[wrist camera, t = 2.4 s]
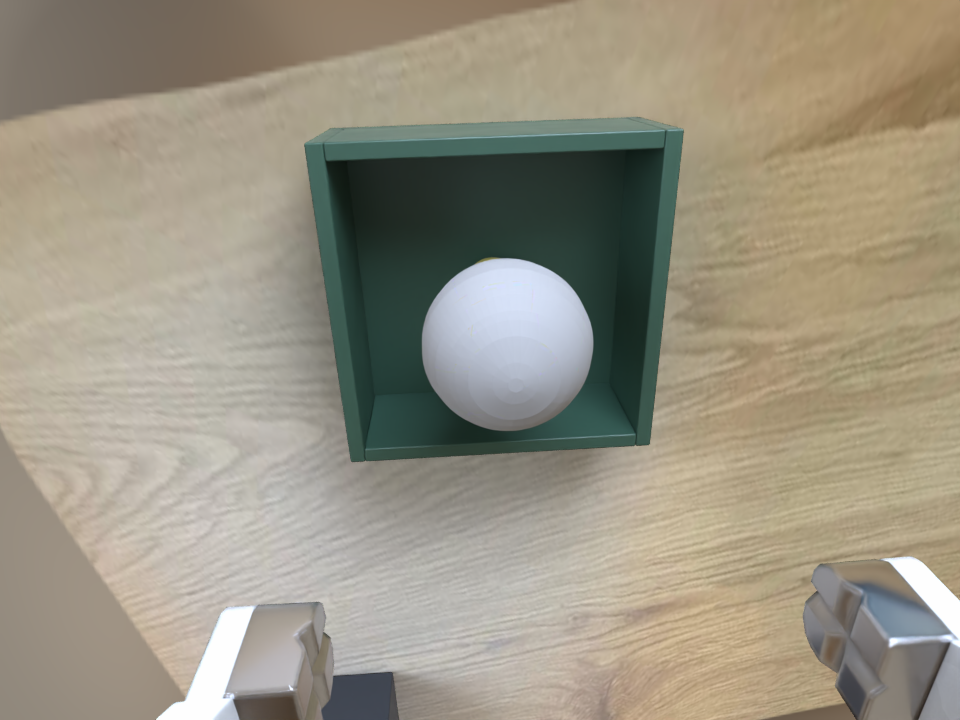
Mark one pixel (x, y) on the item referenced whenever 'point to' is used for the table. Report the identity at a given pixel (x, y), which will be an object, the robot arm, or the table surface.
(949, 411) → the table surface
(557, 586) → the table surface
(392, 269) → the green open square box
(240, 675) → the robot arm
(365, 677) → the block
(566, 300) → the light bulb
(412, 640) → the table surface
